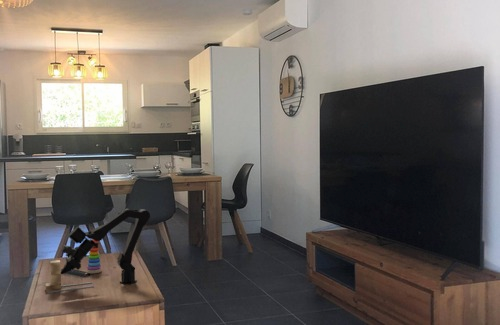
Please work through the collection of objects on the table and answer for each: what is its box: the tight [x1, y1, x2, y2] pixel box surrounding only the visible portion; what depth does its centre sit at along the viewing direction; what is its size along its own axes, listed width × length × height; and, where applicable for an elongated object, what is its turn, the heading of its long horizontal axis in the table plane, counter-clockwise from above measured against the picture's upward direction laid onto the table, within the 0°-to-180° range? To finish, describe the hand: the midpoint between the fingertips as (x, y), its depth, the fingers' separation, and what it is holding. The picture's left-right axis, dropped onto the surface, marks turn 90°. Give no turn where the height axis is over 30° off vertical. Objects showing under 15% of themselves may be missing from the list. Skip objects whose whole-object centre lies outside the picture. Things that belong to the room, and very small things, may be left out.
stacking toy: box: [86, 239, 102, 274], centre depth 298 cm, size 8×8×19 cm
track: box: [46, 281, 94, 294], centre depth 265 cm, size 22×8×1 cm, turn 114°
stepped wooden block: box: [45, 259, 62, 293], centre depth 261 cm, size 7×6×14 cm
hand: (61, 273), depth 263 cm, fingers closed
